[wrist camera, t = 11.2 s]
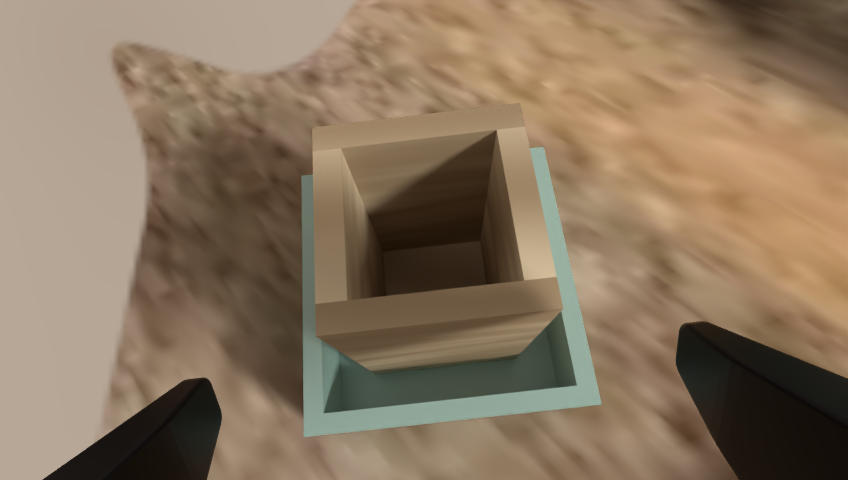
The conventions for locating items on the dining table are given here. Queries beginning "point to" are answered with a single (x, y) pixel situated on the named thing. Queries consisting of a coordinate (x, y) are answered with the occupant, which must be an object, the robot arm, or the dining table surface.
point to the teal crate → (452, 385)
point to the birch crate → (430, 240)
